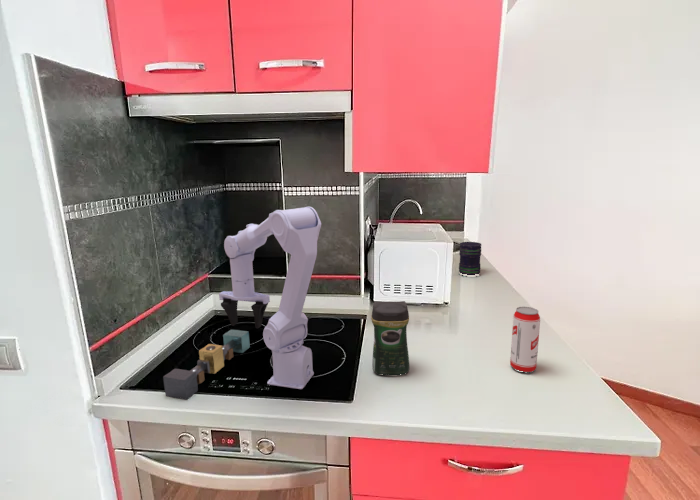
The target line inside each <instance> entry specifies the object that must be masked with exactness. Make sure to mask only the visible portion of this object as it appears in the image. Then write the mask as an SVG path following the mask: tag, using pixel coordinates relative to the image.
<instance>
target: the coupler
mask: <svg viewBox="0 0 700 500" xmlns="http://www.w3.org/2000/svg"><path fill="white" fill-rule="evenodd" d="M222 347H223V345H219V344H213V343H208V344H207V345H205V346H204V347H202V348H200V349H199V350H198V355H199V360H206V361H209V366H210V372H209V373H208V374H214V375H215V374H217V372H219V371H220V370H221V369H222V368H224V367H225V360H224V358H223V348H222Z"/></svg>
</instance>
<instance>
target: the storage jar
mask: <svg viewBox="0 0 700 500" xmlns="http://www.w3.org/2000/svg"><path fill="white" fill-rule="evenodd" d="M481 255H482V243H481V242H477V241H476V242H475V241H463V242H460V243H459V263H458V273H459V272H460V273H462V274H467V275H475V274H479V273H480V274H481Z"/></svg>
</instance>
